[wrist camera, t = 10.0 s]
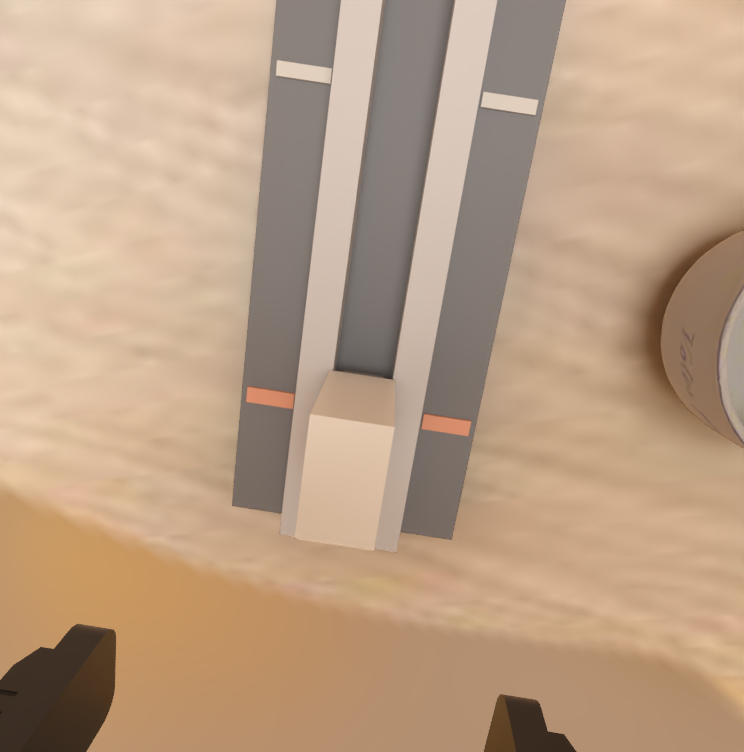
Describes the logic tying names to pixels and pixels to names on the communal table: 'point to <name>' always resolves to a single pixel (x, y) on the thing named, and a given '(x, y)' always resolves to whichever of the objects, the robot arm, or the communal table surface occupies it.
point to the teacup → (709, 338)
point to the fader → (346, 460)
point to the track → (388, 232)
